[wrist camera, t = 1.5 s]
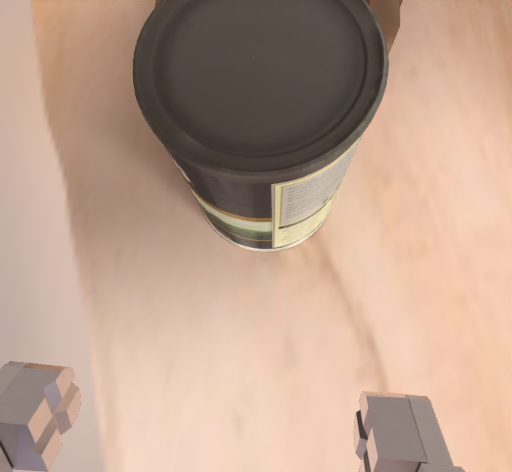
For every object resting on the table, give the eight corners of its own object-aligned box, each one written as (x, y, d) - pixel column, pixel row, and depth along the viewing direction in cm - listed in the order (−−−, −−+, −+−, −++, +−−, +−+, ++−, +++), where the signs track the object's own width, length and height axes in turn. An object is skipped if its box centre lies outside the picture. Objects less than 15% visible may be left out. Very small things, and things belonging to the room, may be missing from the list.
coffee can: (202, 260, 28) (132, 190, 14) (195, 132, 31) (129, -32, 17) (345, 246, 28) (413, 160, 14) (326, 118, 30) (367, -60, 17)
